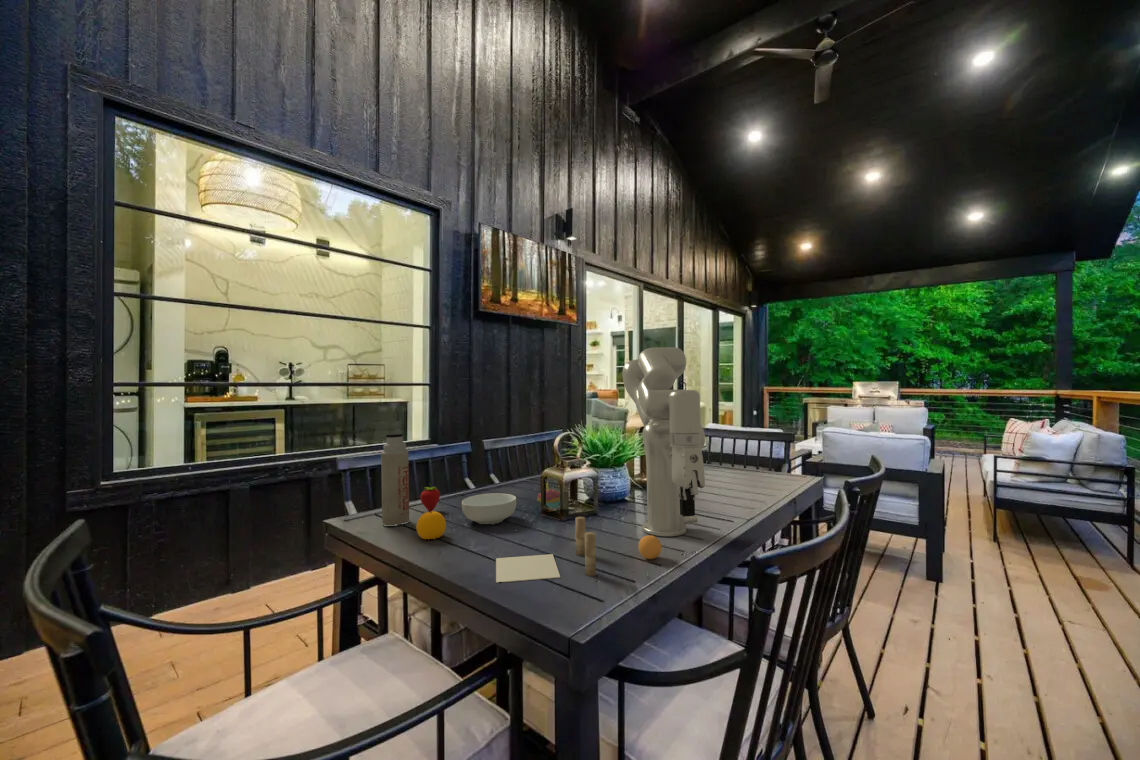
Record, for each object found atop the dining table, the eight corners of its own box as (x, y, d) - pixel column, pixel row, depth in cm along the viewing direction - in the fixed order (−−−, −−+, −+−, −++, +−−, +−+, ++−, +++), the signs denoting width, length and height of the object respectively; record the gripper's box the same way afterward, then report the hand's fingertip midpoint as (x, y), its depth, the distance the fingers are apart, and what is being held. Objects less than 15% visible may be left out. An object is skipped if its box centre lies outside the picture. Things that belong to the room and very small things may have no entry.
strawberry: (416, 514, 157) (415, 484, 157) (429, 508, 164) (429, 479, 164) (431, 515, 155) (431, 485, 155) (444, 509, 162) (443, 480, 162)
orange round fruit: (422, 544, 127) (422, 517, 127) (412, 537, 133) (412, 511, 133) (450, 538, 132) (450, 511, 132) (439, 531, 138) (439, 506, 138)
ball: (657, 553, 117) (656, 531, 117) (664, 561, 112) (664, 538, 112) (635, 555, 116) (635, 532, 117) (642, 563, 111) (642, 540, 111)
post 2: (594, 571, 107) (594, 531, 107) (597, 575, 105) (596, 535, 105) (584, 572, 107) (583, 532, 107) (586, 576, 104) (585, 535, 104)
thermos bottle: (414, 521, 148) (413, 432, 148) (393, 528, 142) (391, 435, 142) (398, 518, 153) (397, 431, 153) (376, 524, 146) (375, 434, 146)
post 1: (584, 552, 119) (584, 516, 119) (586, 555, 117) (585, 519, 117) (575, 552, 119) (574, 517, 119) (576, 556, 116) (576, 519, 116)
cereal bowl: (507, 511, 159) (507, 490, 159) (524, 524, 144) (523, 501, 144) (456, 518, 151) (456, 496, 152) (469, 532, 136) (468, 508, 137)
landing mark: (552, 554, 118) (552, 554, 118) (560, 577, 104) (560, 576, 104) (496, 559, 115) (496, 558, 115) (496, 582, 102) (496, 582, 102)
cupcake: (554, 515, 153) (553, 478, 153) (532, 512, 157) (531, 476, 157) (567, 508, 160) (566, 473, 160) (546, 506, 164) (545, 471, 165)
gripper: (713, 442, 109) (716, 522, 108) (687, 437, 124) (689, 507, 123) (682, 443, 108) (685, 524, 107) (660, 438, 122) (662, 509, 122)
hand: (687, 515), depth 115 cm, fingers closed
